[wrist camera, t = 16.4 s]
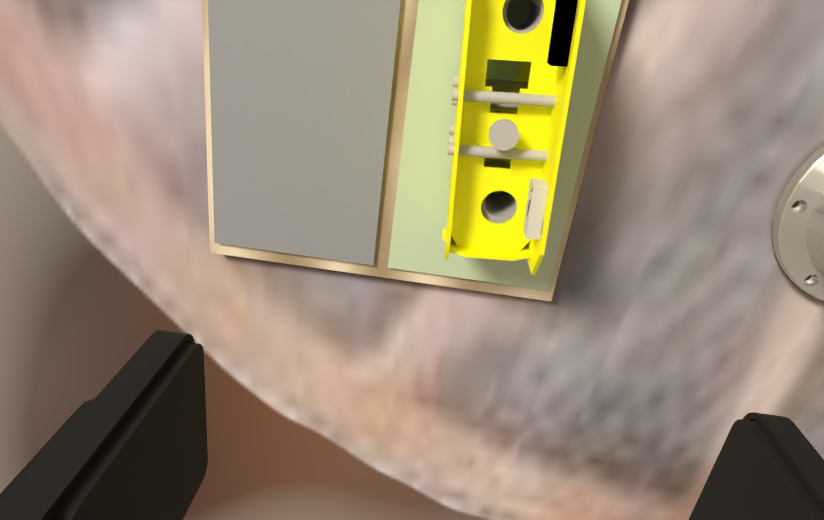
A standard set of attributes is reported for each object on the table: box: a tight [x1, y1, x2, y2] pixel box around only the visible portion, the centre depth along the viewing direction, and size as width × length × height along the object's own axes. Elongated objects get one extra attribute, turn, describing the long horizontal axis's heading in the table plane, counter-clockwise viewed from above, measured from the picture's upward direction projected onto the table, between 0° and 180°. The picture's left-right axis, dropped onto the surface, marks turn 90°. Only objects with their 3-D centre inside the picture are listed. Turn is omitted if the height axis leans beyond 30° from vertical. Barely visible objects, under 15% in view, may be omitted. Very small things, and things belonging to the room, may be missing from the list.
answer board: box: [202, 0, 629, 301], centre depth 35 cm, size 24×22×2 cm
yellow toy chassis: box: [442, 0, 586, 275], centre depth 30 cm, size 16×6×8 cm, turn 177°
